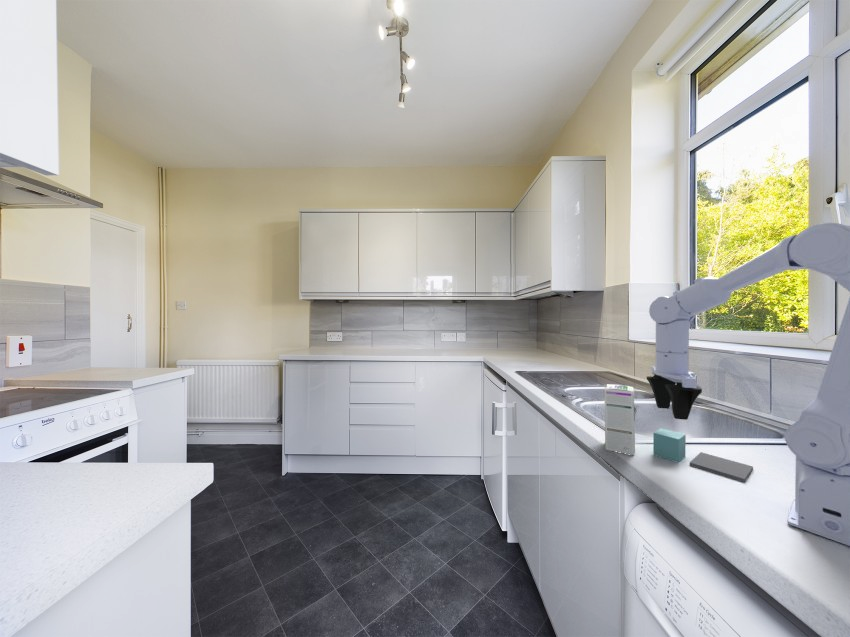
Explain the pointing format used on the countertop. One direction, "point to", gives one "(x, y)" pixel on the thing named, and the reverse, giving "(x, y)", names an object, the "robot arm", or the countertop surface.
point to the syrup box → (619, 418)
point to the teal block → (669, 444)
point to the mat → (722, 466)
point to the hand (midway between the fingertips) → (671, 413)
